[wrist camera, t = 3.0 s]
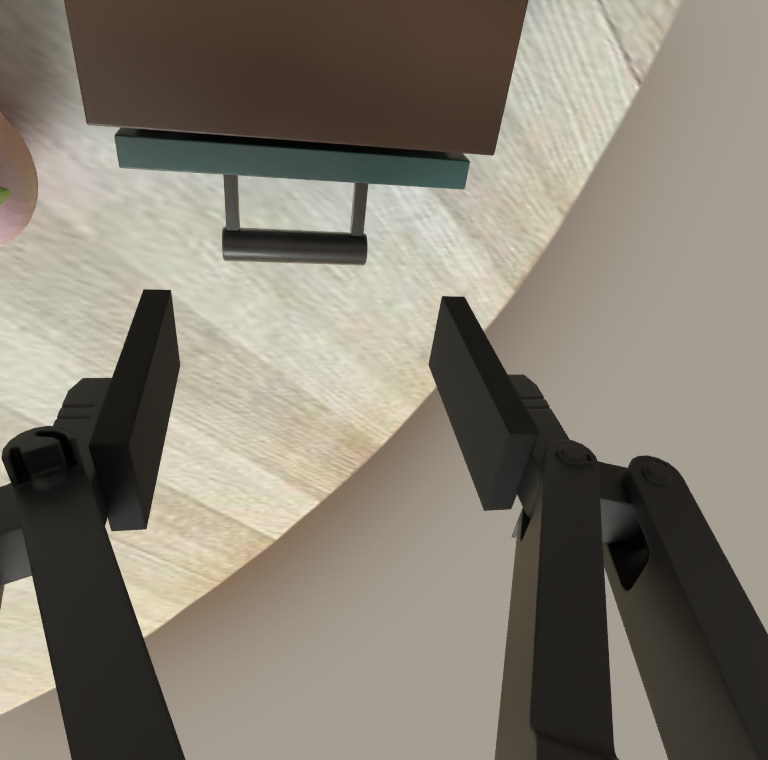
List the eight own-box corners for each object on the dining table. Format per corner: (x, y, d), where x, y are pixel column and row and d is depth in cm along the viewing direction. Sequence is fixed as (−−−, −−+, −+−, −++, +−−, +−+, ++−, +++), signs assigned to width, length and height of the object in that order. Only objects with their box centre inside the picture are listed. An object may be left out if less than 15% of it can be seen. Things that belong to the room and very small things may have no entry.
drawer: (406, 228, 34) (442, 302, 27) (167, 217, 31) (139, 296, 24) (488, -338, 21) (597, -476, 14) (91, -440, 18) (-16, -673, 11)
